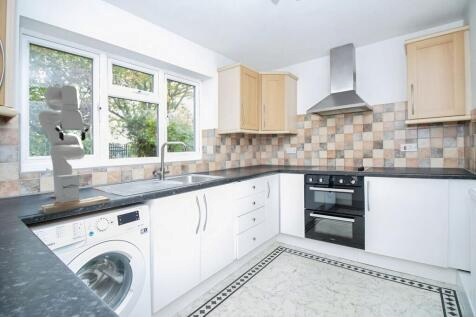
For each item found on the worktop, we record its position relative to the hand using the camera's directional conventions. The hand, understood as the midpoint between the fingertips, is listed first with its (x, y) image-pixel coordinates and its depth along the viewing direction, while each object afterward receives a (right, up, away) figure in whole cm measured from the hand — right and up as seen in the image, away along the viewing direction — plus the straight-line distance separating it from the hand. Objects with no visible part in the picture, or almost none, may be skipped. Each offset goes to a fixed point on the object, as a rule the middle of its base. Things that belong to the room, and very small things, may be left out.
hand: (72, 140), depth 128 cm
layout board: (+11, -34, -12) cm, 37 cm away
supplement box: (+8, -31, -15) cm, 35 cm away
